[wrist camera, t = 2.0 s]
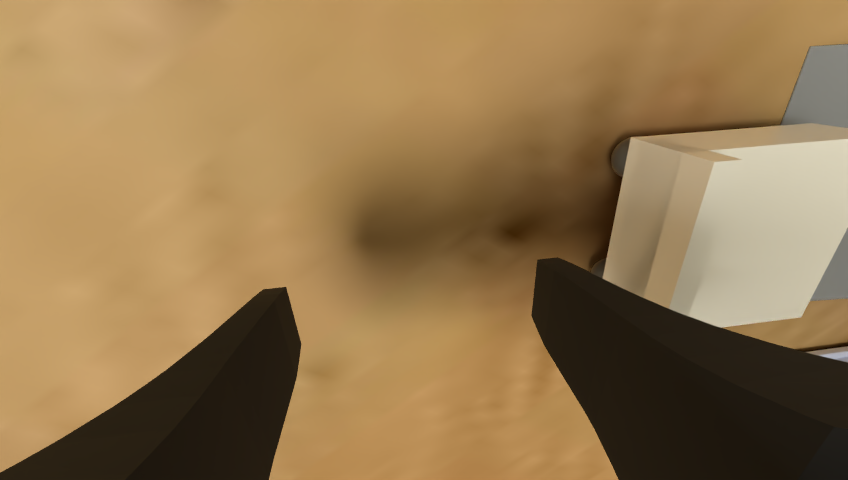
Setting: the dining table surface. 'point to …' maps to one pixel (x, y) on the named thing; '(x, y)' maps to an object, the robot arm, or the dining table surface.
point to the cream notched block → (729, 220)
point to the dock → (828, 105)
